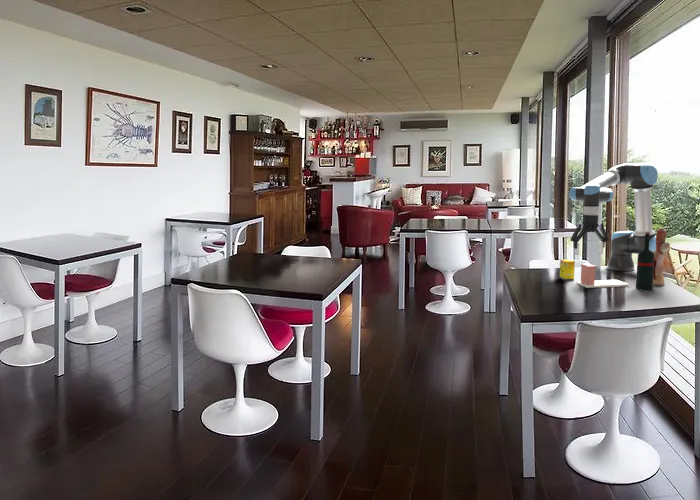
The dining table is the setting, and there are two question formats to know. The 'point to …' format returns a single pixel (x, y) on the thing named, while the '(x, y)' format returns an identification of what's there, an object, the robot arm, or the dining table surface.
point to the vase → (660, 256)
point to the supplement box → (567, 269)
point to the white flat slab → (610, 283)
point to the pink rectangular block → (587, 276)
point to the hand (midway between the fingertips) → (588, 254)
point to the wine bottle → (645, 267)
